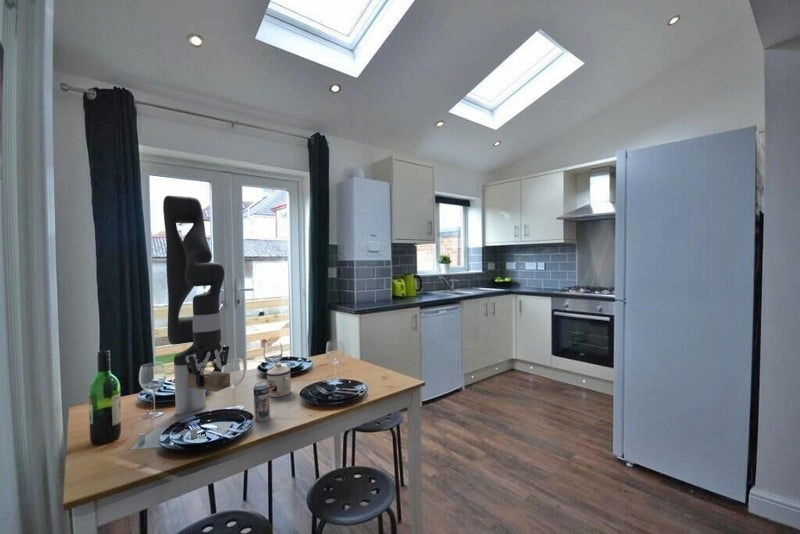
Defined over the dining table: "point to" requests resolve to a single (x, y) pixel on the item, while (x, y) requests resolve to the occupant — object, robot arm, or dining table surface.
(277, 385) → the teacup with lid
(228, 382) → the brown rectangular block
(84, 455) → the dining table surface
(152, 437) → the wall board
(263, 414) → the beer can
